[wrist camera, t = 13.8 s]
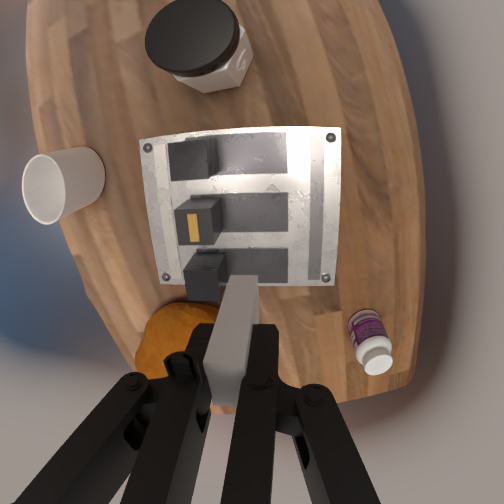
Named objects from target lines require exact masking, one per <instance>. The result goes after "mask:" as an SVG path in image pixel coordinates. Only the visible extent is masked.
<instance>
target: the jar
mask: <svg viewBox="0 0 504 504" xmlns="http://www.w3.org/2000/svg"><path fill="white" fill-rule="evenodd" d="M237 21H238V20H237V18H236V16H235V14H234V12H233V11H232V10H231V8H230V7H229V6H228V5H227V4H226V3H224V2H223V1H221V0H175V1H173V2H172V3H170V4H168V5H167V6H165V7H164V8H163V9H161V10H160V11H159V12H158V13H157V14H156V15H155V17H154V18H153V19H152V21H151V23H150V24H149V26H148V29H147V32H146V36H145V48H146V52H147V54H148V56H149V58H150V59H151V61H152V62H153V63H154V64H155V65H156V66H158V67H159V68H161V69H163V70H165V71H167V72H169V73H171V74H172V75H173V76H174V77H175V78H176V79H177V80H178V81H179V82H181V83H183V84H186V85H188V86H190V87H192V88H194V89H196V90H198V91H200V92H202V93H209V92H213V91H218V90H223V89H228V88H234V87H239V86H240V85H241V83H242V81H243V79H244V76H245V74H246V72H247V69H248V67H249V65H250V63H251V61H252V58H253V56H254V54H253V51H252V48H251V45H250V42H249V40H248V37H247V34H246V31H245V29H244V28H243V27H242V26H241V25H240V24H239V23H238V22H237Z"/></svg>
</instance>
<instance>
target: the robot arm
mask: <svg viewBox="0 0 504 504" xmlns="http://www.w3.org/2000/svg"><path fill="white" fill-rule="evenodd" d="M259 316H260V313H259V289H258V275H230V278H229V281H228V284H227V287H226V291H225V294H224V297H223V300H222V303H221V306H220V309H219V313H218V316H217V319H216V322H215V324H214V323H199V324H198V325H197V326H196V327H195V328H194V329H193V331H192V333H191V336H190V338H189V341H188V345H187V346H186V349H185V351H177V352H174V353H171V354H170V355H168V356H167V357H166V358H165V359H164V361H163V362H164V365H165V368H166V371H167V374H168V376H167V377H163V378H157V379H148V378H147V377H146V375H144V374H143V373H140V372H130V373H128V374H125V375H124V376H123V377H122V378H121V379H120V380H119V381H118V382H117V383H116V384H115V385H114V386H113V388H112V389H111V390H110V391H109V392H108V393H107V395H106V396H105V397H104V398H103V399H102V400H101V401H100V403H99V404H98V405H97V406H96V407H95V408H94V409H93V410H92V412H91V413H90V414H89V415H88V416H87V418H85V420H84V421H83V422H82V423H81V424H80V425H79V426H78V428H77V429H76V430H75V431H74V432H73V433H72V435H71V436H70V437H69V438H68V439H67V440H66V442H65V443H64V444H63V445H62V446H61V447H60V449H59V450H58V451H57V452H56V453H55V454H54V456H53V457H52V458H51V459H50V460H49V461H48V463H47V464H46V465H45V466H44V467H43V469H42V470H41V471H40V472H39V473H38V475H37V476H36V477H35V478H34V479H33V480H32V482H31V483H30V484H29V485H28V486H27V488H26V489H25V490H24V491H23V492H22V494H21V495H20V496H19V497H18V498H17V500H16V501H15V502H14V503H12V504H109V502H110V501H111V499H112V498H113V497H114V495H115V494H116V493H117V491H118V490H119V488H120V487H121V485H122V484H123V483H124V481H125V480H126V478H127V477H128V476H129V474H130V473H131V474H130V477H129V479H128V482H127V485H126V488H125V491H124V494H123V497H122V499H121V502H120V504H191V500H192V496H193V491H194V487H195V483H196V478H197V474H198V469H199V465H200V461H201V456H202V451H203V447H204V443H205V438H206V434H207V429H208V426H209V421H210V416H211V410H210V403H211V399H212V402H213V405H222V406H236V407H237V410H236V416H235V422H234V428H233V433H232V439H231V445H230V451H229V457H228V463H227V469H226V474H225V480H224V486H223V491H222V497H221V503H220V504H271V492H272V479H273V465H274V464H273V463H274V450H275V432H276V431H277V432H281V433H284V434H288V435H291V436H292V438H293V441H294V445H295V448H296V452H297V455H298V459H299V462H300V465H301V469H302V472H303V475H304V478H305V481H306V485H307V488H308V491H309V495H310V498H311V501H312V504H381V503H380V501H379V498H378V496H377V494H376V491H375V489H374V487H373V484H372V482H371V480H370V478H369V475H368V473H367V471H366V469H365V466H364V464H363V462H362V459H361V457H360V455H359V453H358V450H357V448H356V446H355V444H354V441H353V439H352V437H351V435H350V432H349V430H348V428H347V426H346V423H345V421H344V419H343V417H342V414H341V412H340V410H339V408H338V406H337V403H336V401H335V399H334V397H333V394H332V393H331V391H330V390H329V389H328V388H327V387H325V386H323V385H320V384H308V385H306V386H303V387H302V388H300V389H299V388H295V387H292V386H289V385H287V384H285V383H284V382H283V381H282V380H281V379H280V378H279V376H278V356H279V331H278V329H277V328H276V326H275V324H259Z"/></svg>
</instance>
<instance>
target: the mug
mask: <svg viewBox="0 0 504 504" xmlns="http://www.w3.org/2000/svg"><path fill="white" fill-rule="evenodd" d="M104 183H105V170H104V166H103V163H102V161H101V159H100V157H99V156H98V154H97V153H96V152H95V151H93V150H92V149H90V148H88V147H84V146H83V147H74V148H69V149H63V150H58V151H53V152H48V153H44V154H39V155H36V156H34V157H33V158H32V159H31V160H30V161H29V162H28V163H27V165H26V167H25V170H24V173H23V178H22V193H23V199H24V202H25V205H26V207H27V209H28V211H29V213H30V214H31V216H33V218H34V219H35V220H37V221H38V222H40V223H42V224H52V223H53V222H56V221H58V220H60V219H62V218H64V217H66V216H68V215H69V214H71V213H73V212H75V211H77V210H80V209H82V208H84V207H86V206H88V205H90V204H92V203H93V202H95V201H96V200H97V199H98V198H99V196H100V195H101V193H102V190H103V187H104Z"/></svg>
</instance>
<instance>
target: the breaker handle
mask: <svg viewBox="0 0 504 504" xmlns="http://www.w3.org/2000/svg"><path fill="white" fill-rule="evenodd" d="M174 216H175V224H176V231H177V238H178V245H179V246H184V245H215V243H216V241H217V239H218V237H219V236H220V234H221V232H222V231H223V224H222V212H221V199H220V198H198V199H187V200H186V201H185V202H183V203H182V204H181V205H180V206H178V207H177V208H176V209H174Z"/></svg>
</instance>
